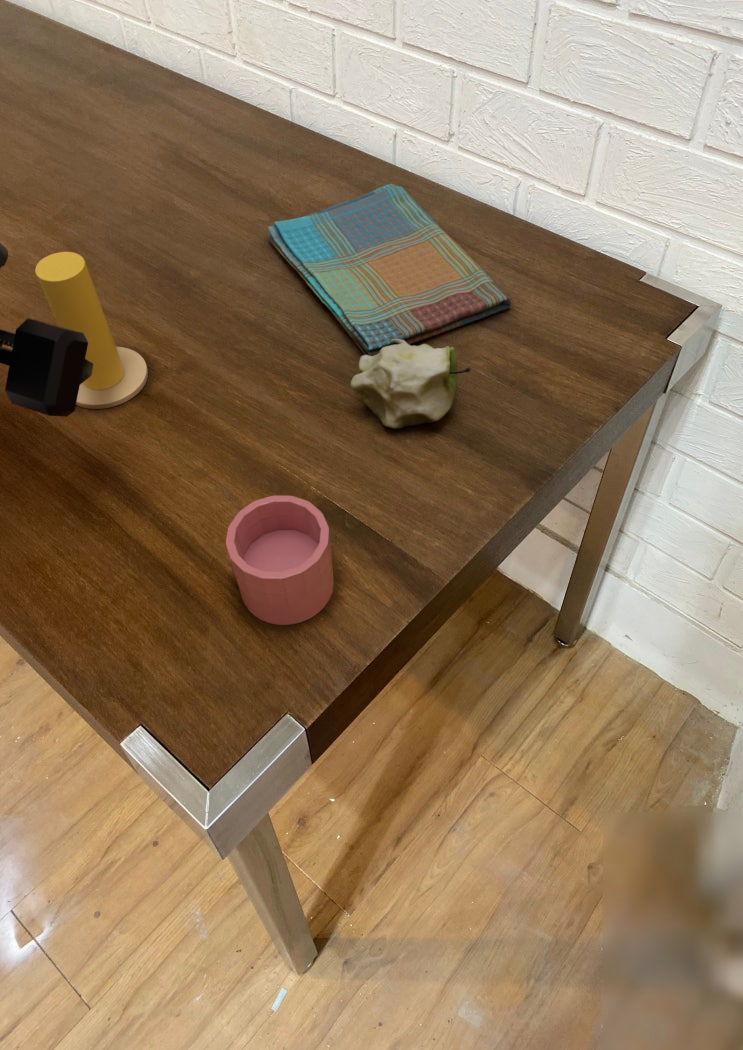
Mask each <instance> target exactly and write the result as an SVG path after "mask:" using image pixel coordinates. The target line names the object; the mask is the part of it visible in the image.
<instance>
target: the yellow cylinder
mask: <svg viewBox="0 0 743 1050" xmlns="http://www.w3.org/2000/svg"><path fill="white" fill-rule="evenodd" d="M34 269H35V270H34V272H35V275H36V277H37V280H38V283H39V285H40V287H41V289H42V292H43V294H44V296H45V299H46V301H47V303H48V306H49V307H50V310H51V313H52V315H53V317H54V320H55V322H56V325H57V326H61V327H64V328H68V329H71V330H75V331H78V332H81V333H84V335H85V337H86V339H87V341H88V346H87V351H86V357H85V359H86V360H88V361H90V362H91V363H93V370H92V375H91V377H89V378H88V379H87V380H85V381H84V382H83V384H84V385H85V386H86V387H88V388H90V389H95V390H102V389H107V388H110V387H113V386H115V385H116V384H118V383H119V382H120V381H121V380H122V378H123V376H124V372H125V371H124V367H123V364H122V362H121V359H120V356H119V354H118V351H117V348H116V347H117V345H116V343H115V340H114V337H113V335H112V331H111V330H110V329H111V328H110V326H109V324H108V321H107V318H106V315H105V313H104V310H103V307H102V305H101V301H100V299H99V296H98V294H97V291H96V288H95V285H94V282H93V280H92V278H91V275H90V272H89V269H88V265H87V263H86V260H85V259H84V257H83V256H82V255H81V254H79V253H77V252H73V251H59V252H54V253H51V254H49V255H47V256H45V257H43V258H41V260H39V262H37V264H36V266H35V268H34Z"/></svg>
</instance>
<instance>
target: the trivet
mask: <svg viewBox="0 0 743 1050" xmlns="http://www.w3.org/2000/svg"><path fill="white" fill-rule="evenodd" d="M116 348H117V351H118V354H119V356H120V359H121V362H122V364H123V367H124V371H125V372H124V376H123V378H122V380H121V381H120V382H119V383H118V384H116V385H115V386H113V387H110V388H107V389H102V390H95V389H90V388H88V387H86V386H85V385H84V384H83V383H82V384H80V387H79V392H78V397H77V402H76V406H78V407H81V408H85V409H90V410H100V409H101V410H103V409H109V408H113V407H117V406H120V405H122V404H124V403H126V402H129V401H130V400H131V399H133V398H134V397H136V396H137V395H138V394H139V393H140V392H141V391H142V390H143V388H144V387H145V385H146V383H147V381H148V377H149V369H148V365H147V363H146V360H145V359H144V358H143V356H141V354H140V353H138V352H137V351H135V350H133V349H130V348H128V347H123V346H116Z"/></svg>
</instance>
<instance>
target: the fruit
mask: <svg viewBox="0 0 743 1050" xmlns="http://www.w3.org/2000/svg"><path fill="white" fill-rule="evenodd" d="M391 341H392V342H396V343H398V344H397V345H390V346H386V347H383V348H382V349H381V350H380V352H379V353H378V354H377V355H375V356H369V355H365V354H363V355H361V356H360V358H359V361H358V365H357V366H358V370H359V371H360V373H357V374H355V375H353V377H352V379H351V381H350V388H351V389H352V391H353V393H355V395H360V396H361V401H362V402H363V403H364V405H365V406H366V407H368V409H370V410H371V412H372V413H373V414H374V415H375V416H376V417H377V418H378V419H379V421H380V422H381V424H382V425H383V426H384V427H385V428H386V427H387V428H390V429H393V430H395V429H401V428H405V427H413V426H419V425H423V424H427V423H429V424H431V423H434V422H437V421H440V420H441V419H442V418H443V417H445V416H446V414H448V413H449V412H450V410H451V409H452V406H453V403H454V400H455V397H456V395H457V387H458V374H464V373H469V372H471V371H472V369H471V366H469V367H466V368H465V369H462V370H459V369H458V361H459V360H458V356H457V351H456V350H455V347H454V346H452V347H451V346H450V345H446V346H445V347H441V348H440V347H437V348H434V347H433V346H431V345H429V344H427V343H422V344H420V345H411V344H410V345H409V344H407V343H406V342H405V341H404V340H401V339H393V340H391Z"/></svg>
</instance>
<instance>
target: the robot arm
mask: <svg viewBox="0 0 743 1050" xmlns="http://www.w3.org/2000/svg"><path fill="white" fill-rule="evenodd" d="M8 259H9V251H8V249H7V248H6V246H4V245H3V244H2V243H1V242H0V270H1V269H2V267H4V266H5V265H6V263H7V261H8ZM3 346H7V347H10V348H11V349H10V348H7V347H3ZM87 346H88V341H87V339H86V337H85V335H84V333H81V332H78V331H75V330H71V329H68V328H64V327H61V326H58V324H54V323H50V322H47V321H42V320H39V319H33V318H30V317H28V318H26V319H25V320H24V321H23V322H22V323H20V325H19V326H18V327H16V328H15V332H11V331H9V330H5V329H1V328H0V364H1V365H5V366H8V371H7V377H6V382H5V387H4V391H5V393H6V395H7V397H8V399H9V401H10V403H11V404H12V405H15V406H18V407H21V408H25V409H27V410H31V411H33V412H37V413H39V414H42V415H46V416H49V417H63V418H64V417H65V418H67V417H69V416H70V415H71V414H73V413H74V412H75V411H76V406H77V405H76V402H77V397H78V392H79V387H80V384H82V383H83V382H84V381H85V380H87V379H88V378H89V377H91V375H92V370H93V363H91V362H90V361H88V360H86V359H85V357H86V351H87Z"/></svg>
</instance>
